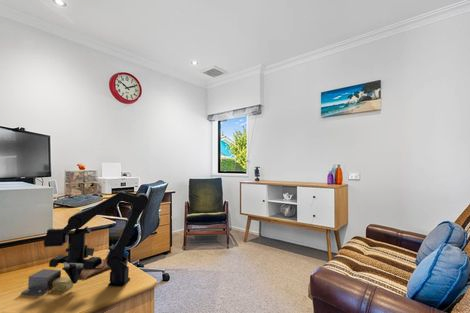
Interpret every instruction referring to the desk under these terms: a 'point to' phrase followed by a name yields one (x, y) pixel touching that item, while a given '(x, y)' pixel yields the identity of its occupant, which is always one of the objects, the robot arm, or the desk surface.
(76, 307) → the desk surface
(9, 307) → the desk surface
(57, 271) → the flanged grey block
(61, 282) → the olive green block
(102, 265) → the sunglasses case
